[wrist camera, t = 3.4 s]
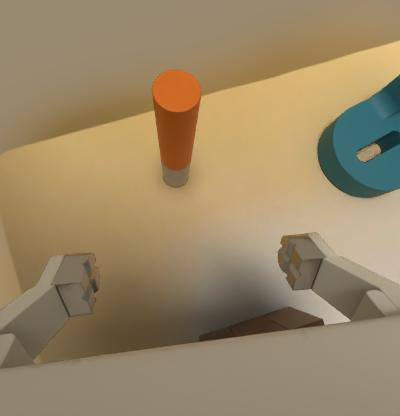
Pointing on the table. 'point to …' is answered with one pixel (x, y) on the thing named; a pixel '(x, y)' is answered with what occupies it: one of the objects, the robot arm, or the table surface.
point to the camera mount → (360, 138)
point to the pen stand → (267, 324)
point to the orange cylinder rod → (176, 122)
